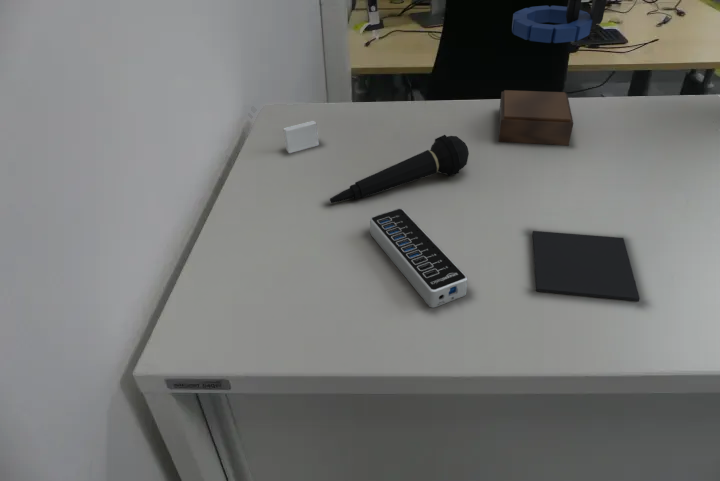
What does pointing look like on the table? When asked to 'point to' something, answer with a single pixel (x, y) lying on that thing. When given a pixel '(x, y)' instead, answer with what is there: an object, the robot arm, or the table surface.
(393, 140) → the table surface
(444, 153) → the microphone
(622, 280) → the mat
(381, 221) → the multiport hub
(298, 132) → the eraser
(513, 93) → the platform
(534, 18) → the ring
